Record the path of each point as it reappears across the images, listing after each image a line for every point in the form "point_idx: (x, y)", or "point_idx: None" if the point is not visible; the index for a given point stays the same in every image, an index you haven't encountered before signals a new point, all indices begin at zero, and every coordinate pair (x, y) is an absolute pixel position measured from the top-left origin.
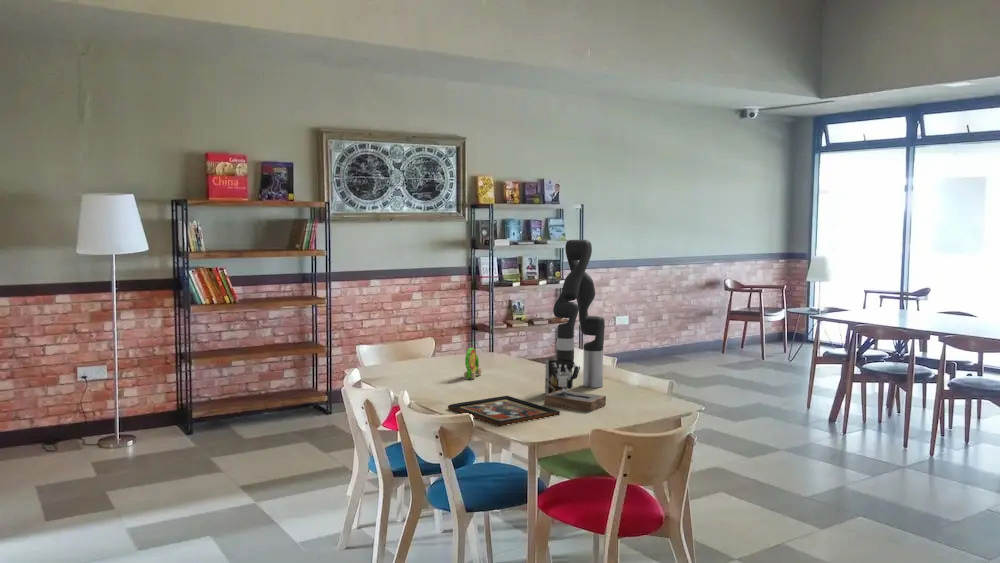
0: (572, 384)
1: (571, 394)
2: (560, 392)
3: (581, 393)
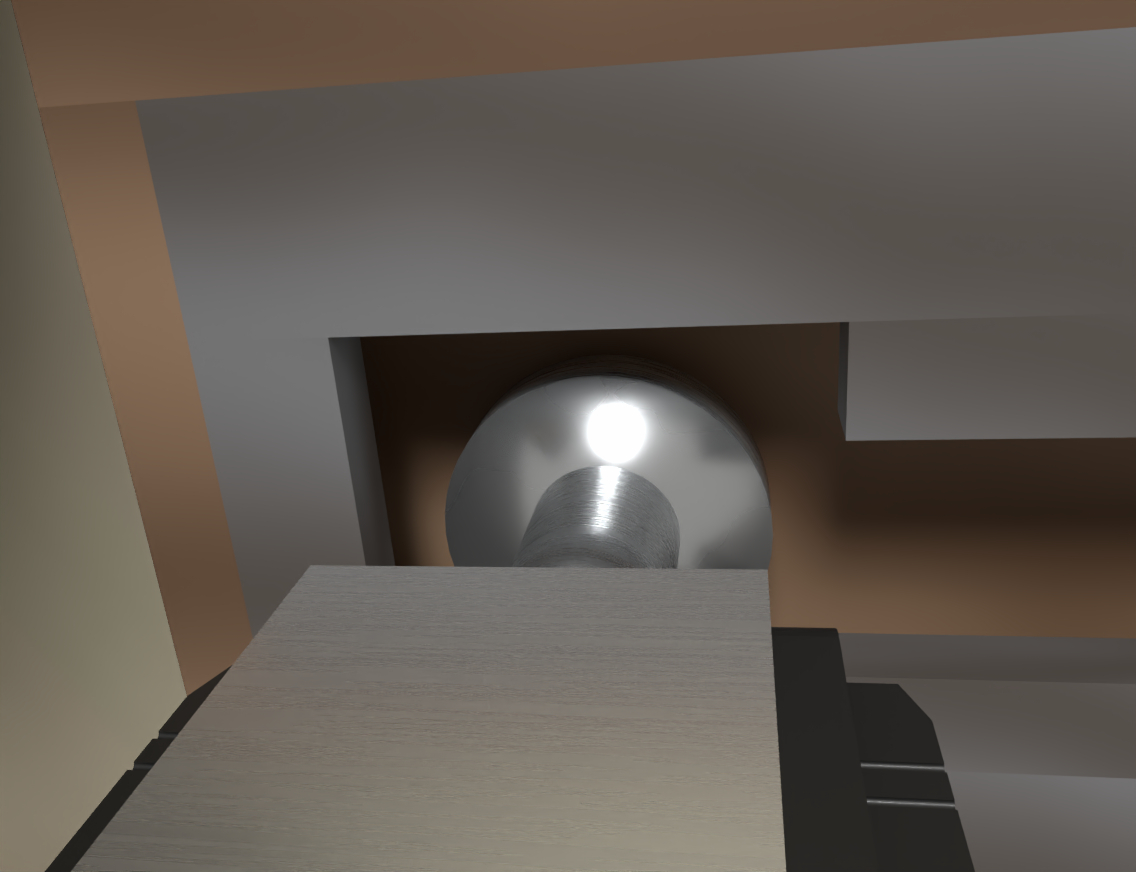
0: (949, 782)
1: (727, 320)
2: (314, 400)
3: (1078, 41)
